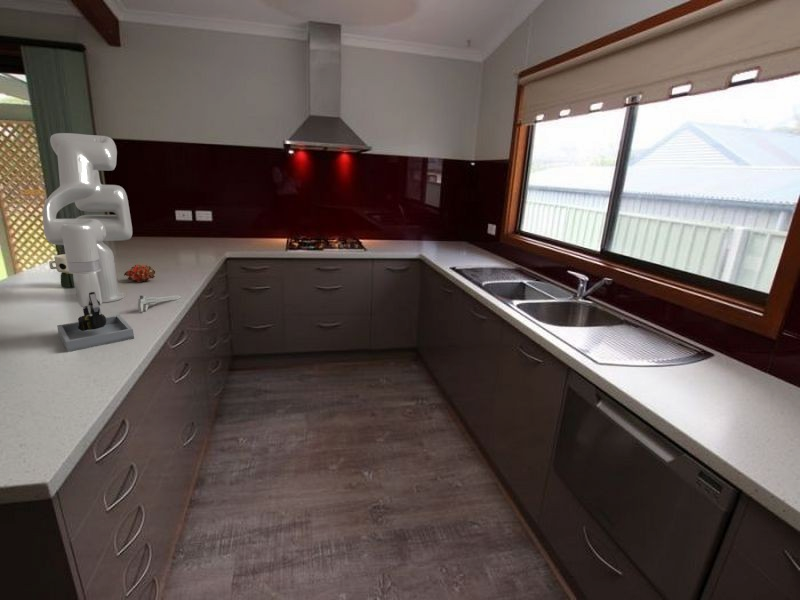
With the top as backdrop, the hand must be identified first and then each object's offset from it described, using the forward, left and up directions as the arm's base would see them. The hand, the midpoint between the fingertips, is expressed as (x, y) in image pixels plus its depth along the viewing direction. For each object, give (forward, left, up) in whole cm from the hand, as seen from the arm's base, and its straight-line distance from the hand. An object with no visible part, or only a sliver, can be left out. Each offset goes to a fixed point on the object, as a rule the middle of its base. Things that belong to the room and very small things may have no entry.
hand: (94, 323), depth 125 cm
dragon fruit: (-60, +27, -4) cm, 66 cm away
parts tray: (0, 0, -4) cm, 4 cm away
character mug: (-66, +3, -4) cm, 66 cm away
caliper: (-21, +24, -5) cm, 32 cm away
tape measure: (0, -1, -2) cm, 2 cm away
